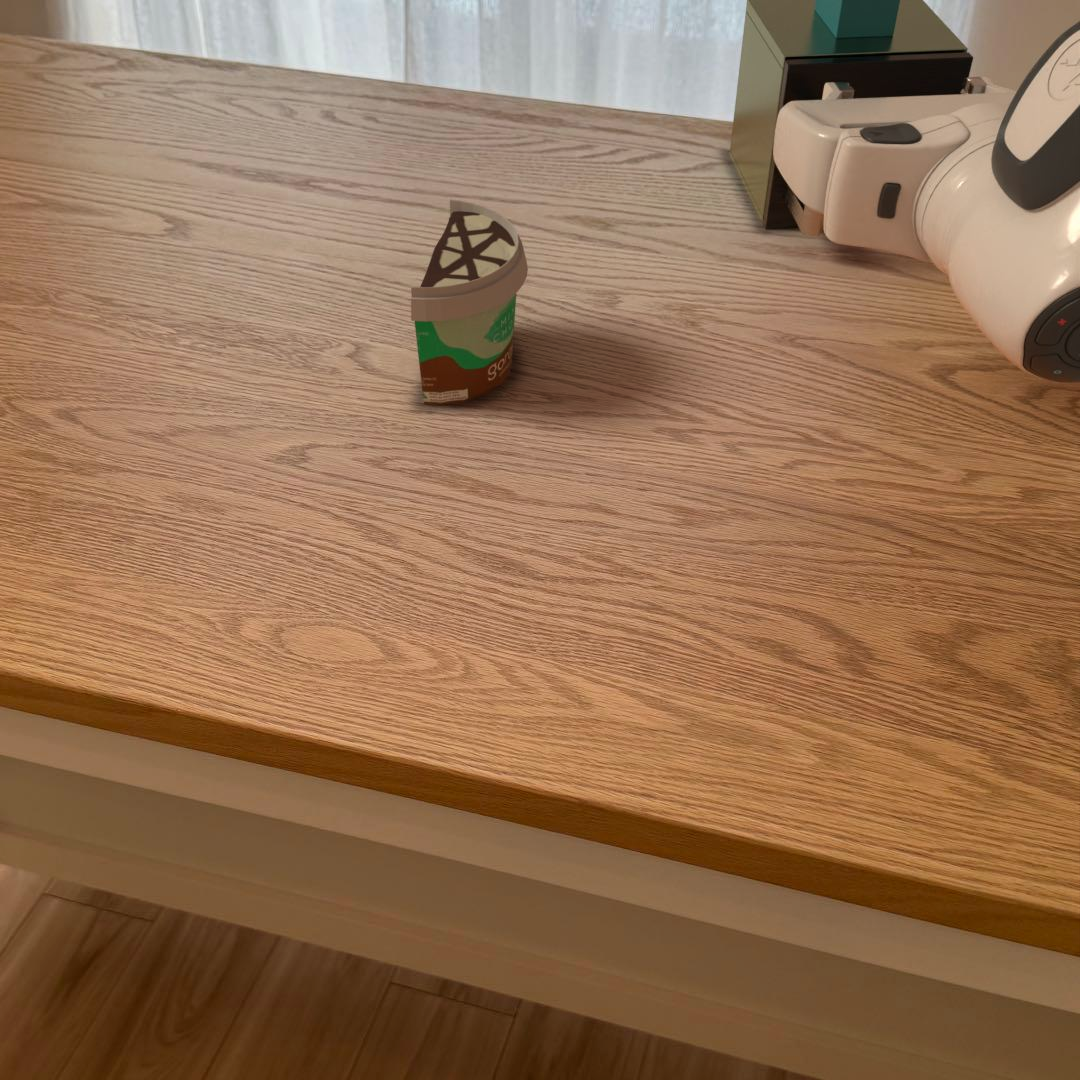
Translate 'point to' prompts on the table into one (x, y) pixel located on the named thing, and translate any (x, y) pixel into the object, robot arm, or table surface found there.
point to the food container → (468, 306)
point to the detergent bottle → (858, 17)
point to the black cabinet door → (868, 82)
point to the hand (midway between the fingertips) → (902, 90)
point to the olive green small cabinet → (799, 33)
